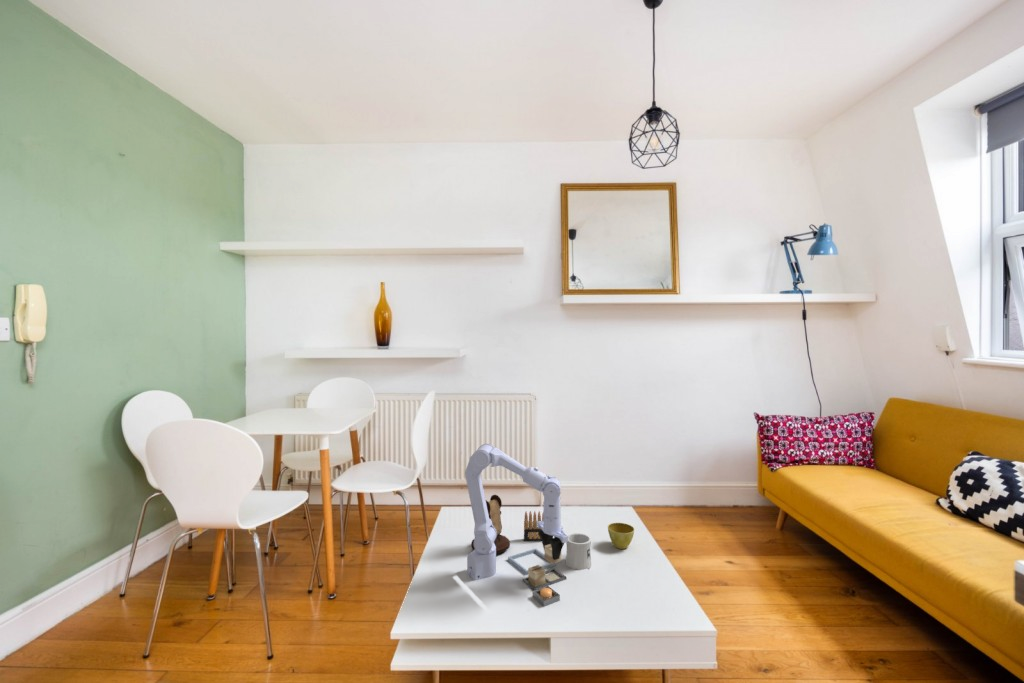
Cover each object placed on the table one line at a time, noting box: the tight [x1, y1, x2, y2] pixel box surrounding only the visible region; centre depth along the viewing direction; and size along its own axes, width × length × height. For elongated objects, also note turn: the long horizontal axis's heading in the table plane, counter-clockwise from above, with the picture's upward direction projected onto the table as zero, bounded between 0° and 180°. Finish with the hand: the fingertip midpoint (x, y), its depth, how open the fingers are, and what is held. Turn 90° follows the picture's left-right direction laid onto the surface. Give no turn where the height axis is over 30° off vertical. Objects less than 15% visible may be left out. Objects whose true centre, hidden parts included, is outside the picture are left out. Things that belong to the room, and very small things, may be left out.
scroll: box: [470, 494, 511, 555], centre depth 177 cm, size 15×15×20 cm
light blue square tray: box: [507, 548, 557, 576], centre depth 165 cm, size 12×12×2 cm
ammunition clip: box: [523, 510, 544, 542], centre depth 184 cm, size 11×2×12 cm, turn 90°
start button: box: [540, 588, 552, 599], centre depth 142 cm, size 4×4×3 cm
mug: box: [565, 532, 592, 571], centre depth 166 cm, size 12×9×10 cm
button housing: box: [531, 585, 561, 608], centre depth 142 cm, size 6×6×3 cm
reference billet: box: [527, 564, 546, 587], centre depth 151 cm, size 4×4×5 cm
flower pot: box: [607, 522, 635, 550], centre depth 180 cm, size 10×10×7 cm
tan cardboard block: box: [543, 544, 562, 564], centre depth 154 cm, size 4×4×5 cm
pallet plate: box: [522, 568, 567, 591], centre depth 153 cm, size 14×9×2 cm, turn 122°
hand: (552, 556), depth 154 cm, fingers closed on tan cardboard block, 4 cm apart
